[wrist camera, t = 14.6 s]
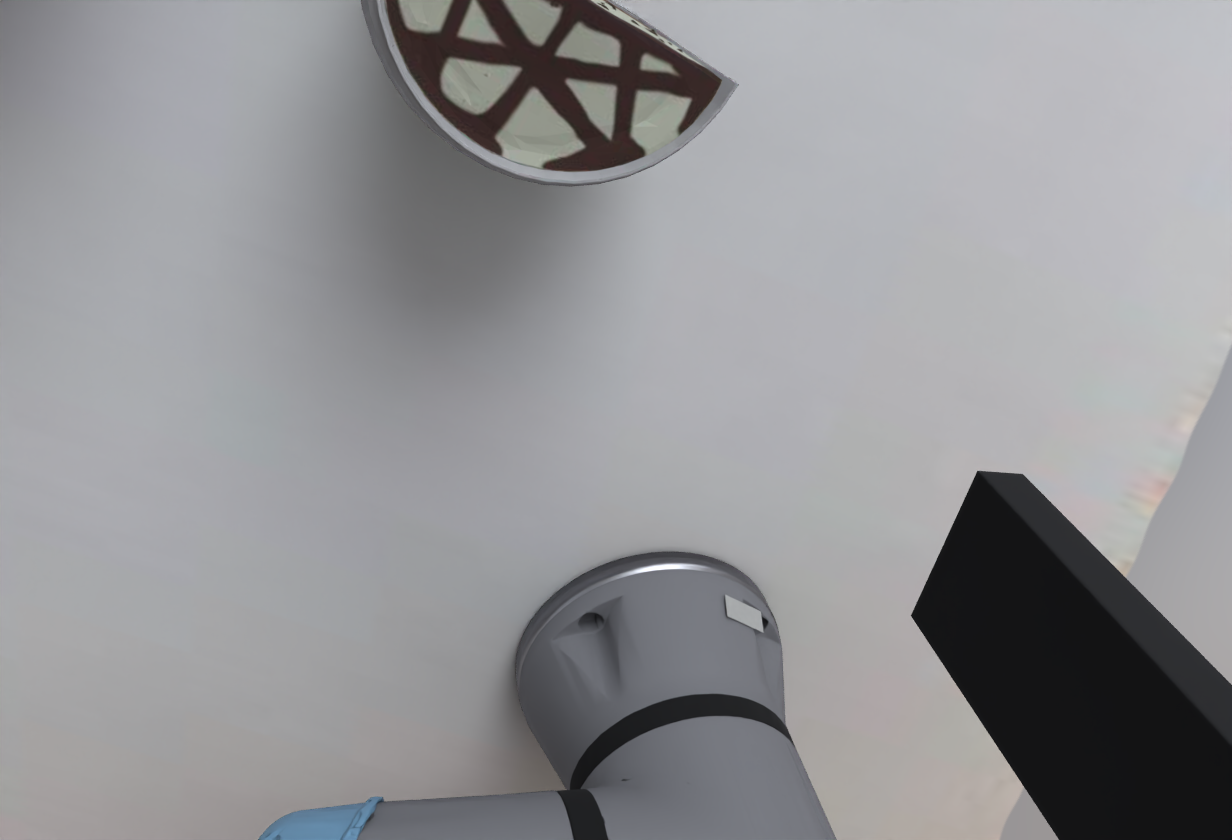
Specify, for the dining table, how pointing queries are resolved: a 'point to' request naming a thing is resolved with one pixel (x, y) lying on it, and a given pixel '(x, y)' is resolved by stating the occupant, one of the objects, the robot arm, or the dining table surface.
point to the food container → (546, 84)
